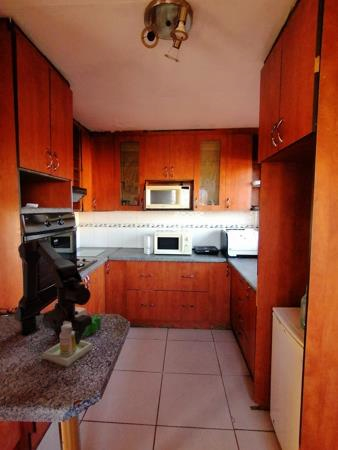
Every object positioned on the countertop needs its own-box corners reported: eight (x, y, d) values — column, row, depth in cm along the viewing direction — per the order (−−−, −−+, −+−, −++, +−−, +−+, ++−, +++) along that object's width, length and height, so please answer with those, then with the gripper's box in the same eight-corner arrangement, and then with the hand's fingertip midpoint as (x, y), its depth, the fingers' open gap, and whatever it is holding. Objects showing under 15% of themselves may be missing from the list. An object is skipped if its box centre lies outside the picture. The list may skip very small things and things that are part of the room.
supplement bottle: (73, 346, 92) (72, 321, 92) (78, 352, 88) (77, 326, 87) (58, 351, 89) (57, 325, 88) (63, 358, 85) (61, 331, 84)
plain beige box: (53, 334, 103) (52, 313, 102) (73, 323, 113) (73, 304, 112) (72, 339, 98) (71, 318, 98) (92, 328, 108) (91, 308, 107)
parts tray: (43, 358, 86) (43, 352, 86) (70, 342, 96) (69, 337, 96) (67, 367, 81) (67, 360, 81) (92, 349, 91) (92, 343, 91)
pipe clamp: (93, 337, 100) (92, 326, 100) (84, 336, 101) (83, 326, 101) (103, 324, 112) (103, 314, 111) (96, 324, 112) (95, 314, 112)
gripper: (28, 303, 84) (30, 347, 85) (66, 311, 76) (68, 360, 77) (55, 293, 94) (57, 332, 95) (92, 300, 86) (94, 343, 87)
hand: (68, 341), depth 88 cm, fingers open, 9 cm apart
